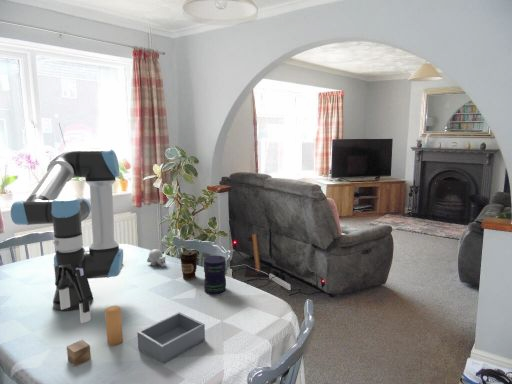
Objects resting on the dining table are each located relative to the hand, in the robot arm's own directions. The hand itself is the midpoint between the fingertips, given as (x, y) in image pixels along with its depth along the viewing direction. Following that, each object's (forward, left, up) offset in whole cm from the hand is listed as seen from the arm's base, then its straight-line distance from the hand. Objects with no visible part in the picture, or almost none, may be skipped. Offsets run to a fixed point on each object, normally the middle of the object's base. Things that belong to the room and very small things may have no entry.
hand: (75, 314), depth 117 cm
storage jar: (+50, +40, -16) cm, 66 cm away
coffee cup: (+40, +58, -16) cm, 72 cm away
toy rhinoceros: (+25, +80, -16) cm, 85 cm away
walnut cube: (0, 0, -16) cm, 16 cm away
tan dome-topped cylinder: (+10, +8, -16) cm, 20 cm away
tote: (+29, +1, -16) cm, 33 cm away
